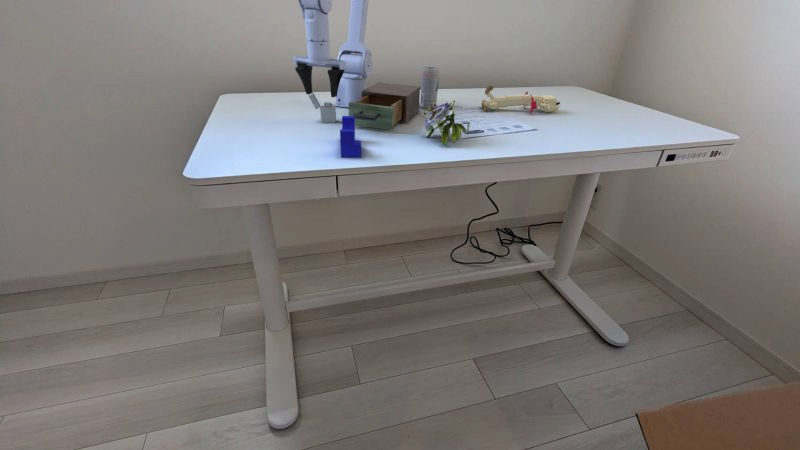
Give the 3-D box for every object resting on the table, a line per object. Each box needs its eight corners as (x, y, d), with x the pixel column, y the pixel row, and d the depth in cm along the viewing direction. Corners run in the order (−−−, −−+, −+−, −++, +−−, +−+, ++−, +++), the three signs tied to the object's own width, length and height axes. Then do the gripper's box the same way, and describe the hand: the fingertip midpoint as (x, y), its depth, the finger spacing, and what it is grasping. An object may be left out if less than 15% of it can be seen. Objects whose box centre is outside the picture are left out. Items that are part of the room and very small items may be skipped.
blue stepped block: (361, 157, 89) (360, 131, 86) (341, 157, 88) (339, 131, 85) (361, 139, 99) (360, 116, 96) (343, 139, 99) (342, 115, 95)
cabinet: (405, 123, 112) (406, 96, 108) (361, 117, 116) (361, 91, 112) (418, 111, 123) (420, 86, 119) (378, 106, 127) (378, 82, 123)
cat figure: (485, 117, 125) (564, 113, 124) (487, 89, 120) (569, 85, 120) (479, 109, 133) (553, 105, 133) (481, 82, 129) (557, 78, 128)
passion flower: (427, 156, 105) (419, 113, 106) (467, 149, 105) (458, 106, 106) (431, 146, 94) (421, 98, 94) (475, 137, 94) (465, 89, 95)
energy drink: (436, 105, 131) (439, 67, 125) (436, 109, 126) (439, 70, 120) (420, 104, 131) (422, 66, 125) (419, 108, 127) (421, 69, 120)
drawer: (386, 135, 100) (386, 112, 97) (342, 128, 103) (341, 106, 100) (406, 118, 114) (407, 97, 111) (366, 112, 117) (366, 92, 114)
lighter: (336, 120, 112) (334, 92, 108) (336, 122, 111) (334, 93, 106) (310, 120, 111) (308, 91, 107) (310, 122, 110) (307, 93, 105)
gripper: (284, 39, 98) (290, 95, 105) (336, 44, 95) (339, 101, 102) (299, 37, 104) (303, 89, 111) (349, 41, 101) (350, 95, 108)
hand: (321, 95), depth 107 cm, fingers open, 7 cm apart
